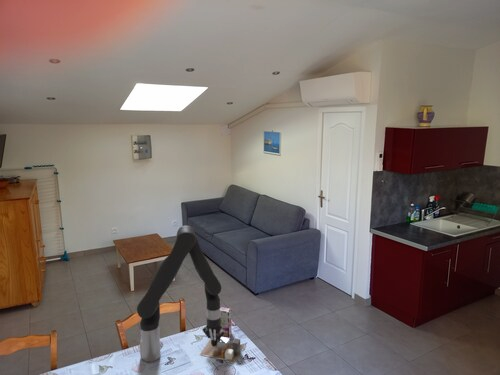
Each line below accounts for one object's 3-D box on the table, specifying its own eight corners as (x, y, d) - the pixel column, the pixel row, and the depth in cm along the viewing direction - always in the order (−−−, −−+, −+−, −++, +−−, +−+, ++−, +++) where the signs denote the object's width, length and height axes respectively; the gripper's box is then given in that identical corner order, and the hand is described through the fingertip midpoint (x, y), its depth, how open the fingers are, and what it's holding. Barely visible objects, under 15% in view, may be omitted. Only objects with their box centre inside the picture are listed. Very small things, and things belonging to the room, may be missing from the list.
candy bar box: (231, 334, 202) (231, 307, 199) (229, 339, 197) (228, 312, 194) (213, 331, 204) (212, 305, 202) (210, 336, 199) (209, 310, 197)
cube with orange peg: (215, 356, 180) (214, 345, 179) (221, 346, 188) (220, 336, 187) (224, 358, 179) (223, 347, 178) (229, 348, 187) (229, 338, 186)
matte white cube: (224, 358, 179) (224, 352, 178) (227, 354, 182) (227, 348, 181) (231, 360, 178) (231, 353, 177) (233, 355, 181) (233, 349, 180)
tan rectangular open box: (199, 356, 182) (198, 342, 181) (210, 341, 195) (209, 328, 194) (235, 364, 176) (235, 349, 175) (244, 347, 189) (243, 334, 188)
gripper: (199, 317, 182) (200, 347, 185) (222, 321, 178) (223, 352, 181) (205, 310, 189) (205, 339, 192) (227, 313, 185) (228, 343, 188)
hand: (214, 345), depth 186 cm, fingers closed
